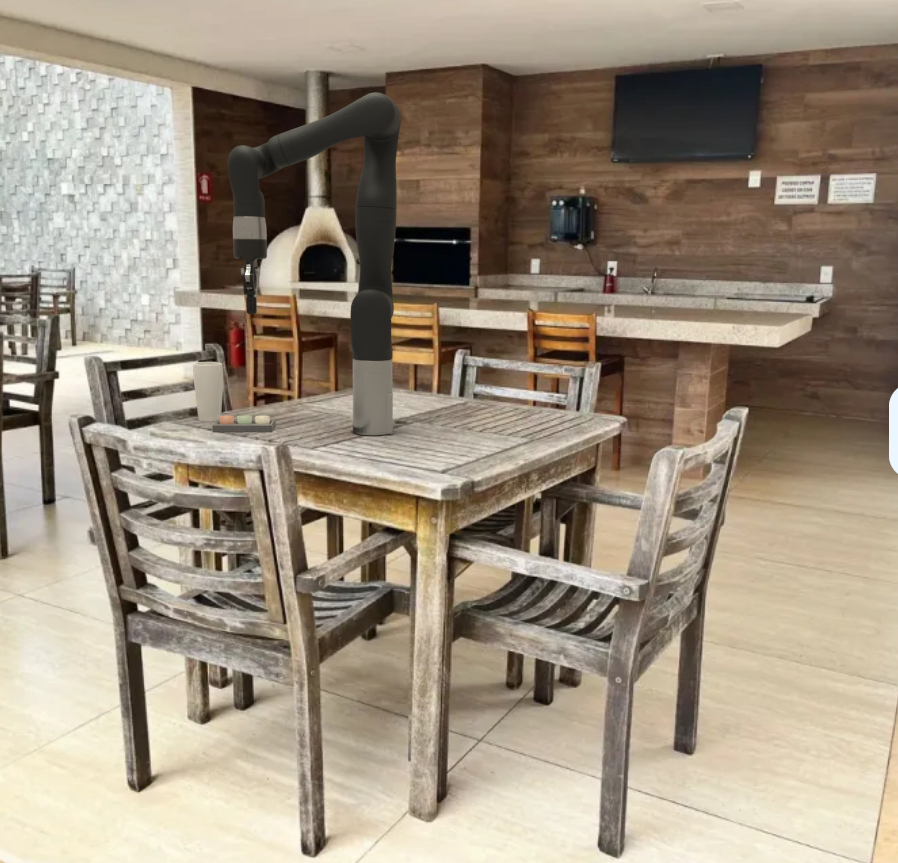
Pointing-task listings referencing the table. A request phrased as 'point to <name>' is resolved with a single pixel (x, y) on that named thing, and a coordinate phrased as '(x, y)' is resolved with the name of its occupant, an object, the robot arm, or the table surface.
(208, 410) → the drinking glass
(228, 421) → the button terracotta
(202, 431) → the table surface
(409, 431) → the table surface
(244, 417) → the button sage
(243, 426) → the dark grey tray
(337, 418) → the table surface
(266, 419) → the button cream
